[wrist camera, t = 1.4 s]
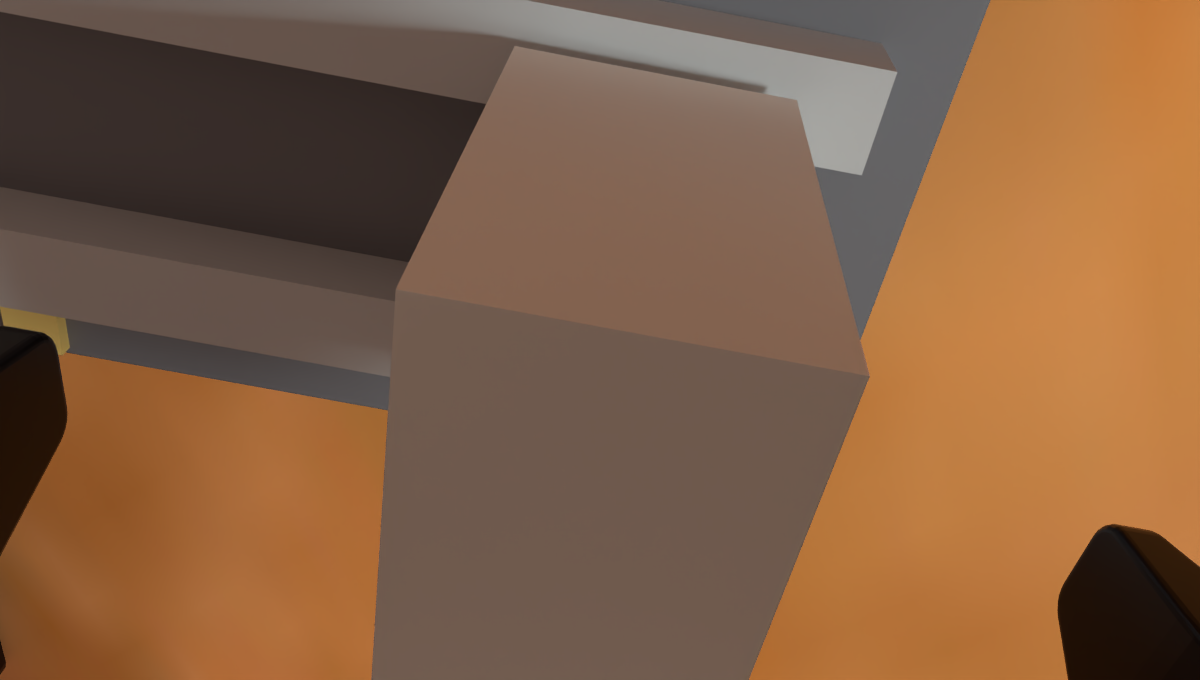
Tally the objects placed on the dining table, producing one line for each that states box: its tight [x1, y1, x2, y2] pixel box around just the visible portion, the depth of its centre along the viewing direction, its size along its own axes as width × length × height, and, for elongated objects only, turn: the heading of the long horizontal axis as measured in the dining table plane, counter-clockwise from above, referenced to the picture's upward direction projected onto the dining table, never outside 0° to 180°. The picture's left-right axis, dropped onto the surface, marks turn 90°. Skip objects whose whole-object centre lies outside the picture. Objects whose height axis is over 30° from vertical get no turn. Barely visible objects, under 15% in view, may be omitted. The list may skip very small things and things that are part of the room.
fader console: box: [0, 0, 990, 410], centre depth 13 cm, size 15×8×4 cm, turn 80°
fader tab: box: [372, 46, 870, 680], centre depth 10 cm, size 3×4×6 cm
